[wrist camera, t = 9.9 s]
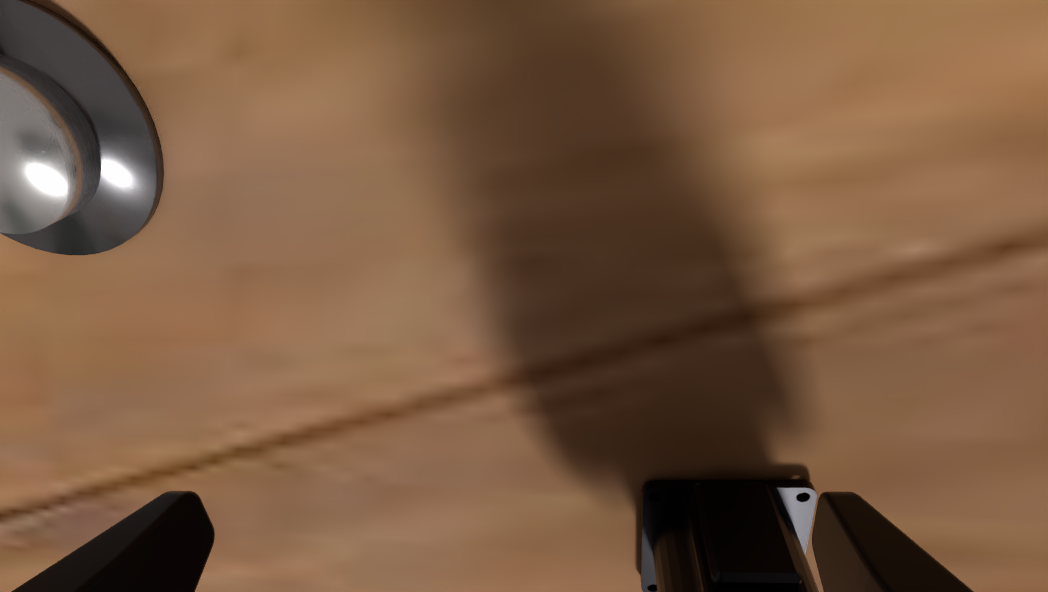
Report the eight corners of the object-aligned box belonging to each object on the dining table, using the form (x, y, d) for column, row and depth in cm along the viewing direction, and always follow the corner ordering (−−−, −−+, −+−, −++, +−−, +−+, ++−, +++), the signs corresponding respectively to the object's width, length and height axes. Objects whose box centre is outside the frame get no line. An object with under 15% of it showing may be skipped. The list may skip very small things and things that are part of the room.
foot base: (199, 244, 20) (192, 249, 20) (-13, 255, 21) (-24, 260, 21) (99, -23, 17) (88, -23, 16) (-155, 4, 17) (-170, 4, 17)
